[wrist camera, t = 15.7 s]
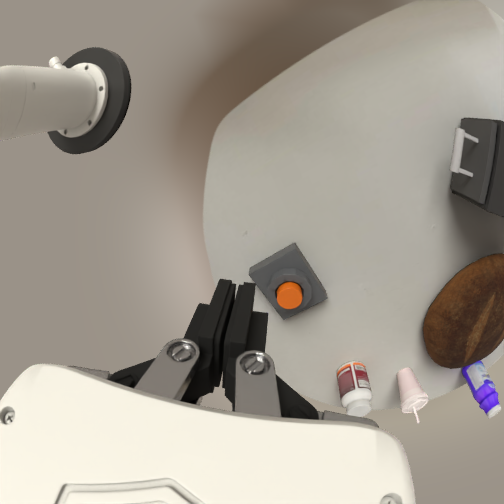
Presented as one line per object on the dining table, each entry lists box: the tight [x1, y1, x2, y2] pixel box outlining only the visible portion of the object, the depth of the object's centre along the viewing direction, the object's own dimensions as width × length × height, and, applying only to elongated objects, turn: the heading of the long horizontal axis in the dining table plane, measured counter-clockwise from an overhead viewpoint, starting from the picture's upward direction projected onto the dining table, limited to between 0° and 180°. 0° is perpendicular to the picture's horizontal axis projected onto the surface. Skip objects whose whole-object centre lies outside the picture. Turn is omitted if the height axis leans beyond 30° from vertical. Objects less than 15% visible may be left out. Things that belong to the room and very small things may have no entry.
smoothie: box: [397, 368, 429, 424], centre depth 44 cm, size 6×6×14 cm
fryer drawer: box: [450, 119, 497, 204], centre depth 26 cm, size 18×11×8 cm, turn 85°
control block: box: [249, 243, 327, 320], centre depth 41 cm, size 10×8×4 cm
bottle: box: [462, 360, 501, 418], centre depth 41 cm, size 7×6×17 cm
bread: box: [423, 254, 504, 369], centre depth 38 cm, size 28×27×9 cm
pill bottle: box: [337, 361, 372, 417], centre depth 46 cm, size 6×6×11 cm
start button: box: [277, 282, 302, 309], centre depth 39 cm, size 4×4×2 cm
